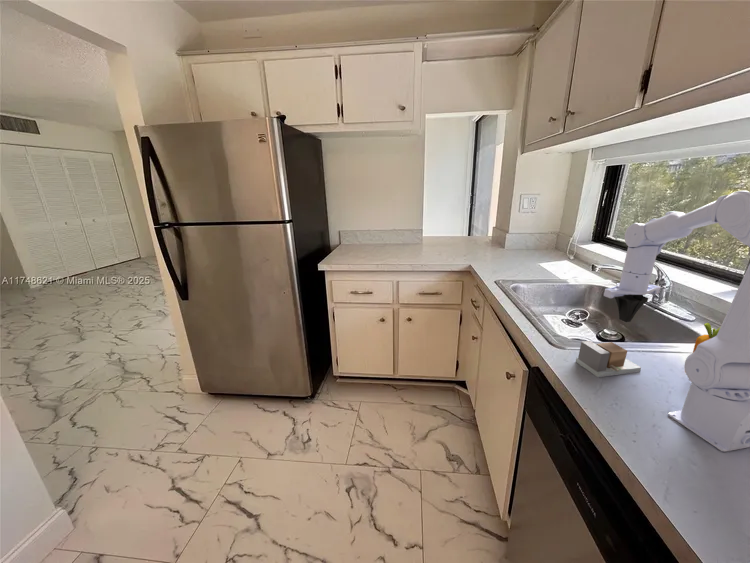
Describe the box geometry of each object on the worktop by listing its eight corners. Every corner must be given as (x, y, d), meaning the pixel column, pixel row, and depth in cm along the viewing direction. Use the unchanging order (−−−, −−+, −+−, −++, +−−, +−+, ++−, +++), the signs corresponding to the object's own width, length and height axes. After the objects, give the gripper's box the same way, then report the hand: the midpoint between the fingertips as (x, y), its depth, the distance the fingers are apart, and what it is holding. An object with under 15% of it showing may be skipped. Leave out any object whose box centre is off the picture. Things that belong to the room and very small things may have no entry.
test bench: (640, 371, 77) (646, 349, 75) (597, 377, 76) (603, 355, 74) (615, 356, 84) (620, 336, 82) (575, 361, 82) (579, 340, 80)
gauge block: (630, 370, 76) (635, 355, 74) (610, 373, 75) (614, 357, 74) (608, 356, 82) (611, 342, 80) (589, 359, 81) (592, 344, 80)
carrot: (683, 380, 74) (702, 323, 69) (684, 371, 77) (703, 316, 72) (713, 389, 70) (736, 330, 66) (713, 379, 74) (734, 322, 69)
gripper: (645, 265, 83) (633, 312, 87) (598, 269, 81) (588, 316, 85) (674, 272, 76) (659, 322, 81) (623, 277, 74) (611, 328, 79)
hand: (624, 320), depth 82 cm, fingers closed
